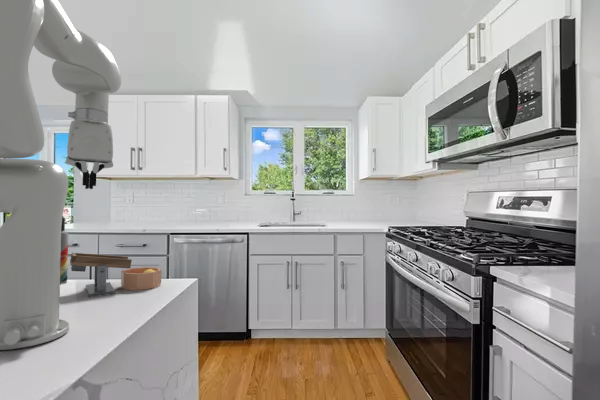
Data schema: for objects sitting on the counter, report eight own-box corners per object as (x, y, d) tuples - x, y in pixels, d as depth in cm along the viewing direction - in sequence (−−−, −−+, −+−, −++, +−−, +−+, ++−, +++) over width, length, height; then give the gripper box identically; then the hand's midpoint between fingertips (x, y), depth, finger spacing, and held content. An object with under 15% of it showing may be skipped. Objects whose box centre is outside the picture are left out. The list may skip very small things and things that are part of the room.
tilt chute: (129, 274, 97) (131, 259, 97) (69, 271, 89) (72, 255, 89) (121, 266, 109) (123, 253, 109) (68, 263, 101) (71, 249, 102)
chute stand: (115, 293, 92) (115, 265, 93) (88, 297, 89) (89, 267, 89) (109, 285, 102) (110, 259, 102) (85, 287, 99) (86, 261, 99)
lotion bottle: (67, 283, 103) (68, 216, 104) (43, 286, 100) (45, 216, 100) (67, 280, 108) (68, 215, 108) (44, 282, 105) (45, 215, 105)
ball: (140, 279, 100) (151, 287, 101) (150, 267, 101) (161, 275, 103) (137, 276, 103) (148, 284, 105) (147, 265, 104) (157, 273, 106)
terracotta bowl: (164, 287, 100) (164, 271, 100) (124, 292, 94) (124, 275, 95) (156, 280, 109) (156, 266, 109) (118, 284, 103) (119, 269, 103)
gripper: (57, 110, 85) (53, 185, 84) (125, 120, 93) (122, 189, 92) (57, 118, 91) (54, 188, 90) (121, 126, 100) (119, 191, 99)
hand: (89, 188), depth 91 cm, fingers closed
